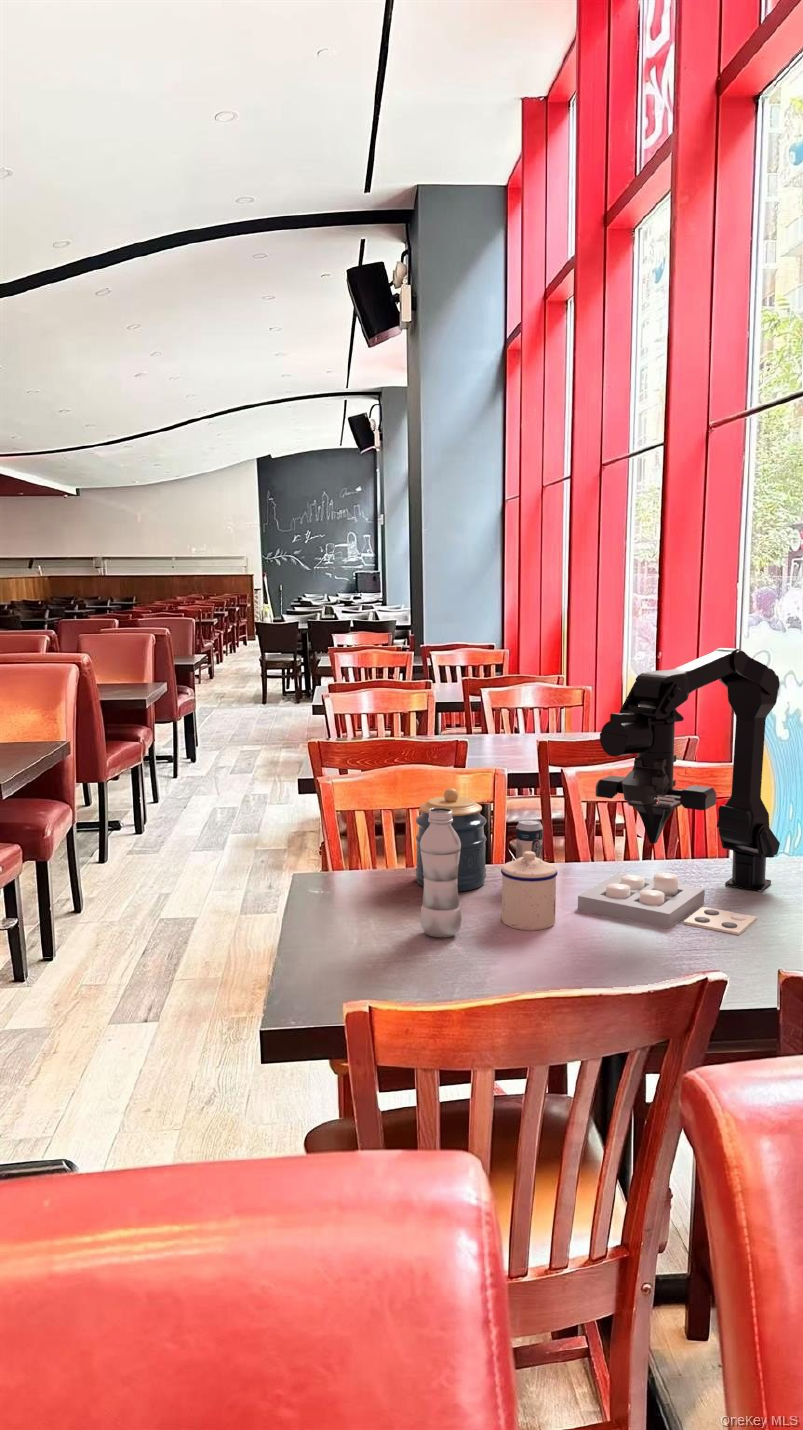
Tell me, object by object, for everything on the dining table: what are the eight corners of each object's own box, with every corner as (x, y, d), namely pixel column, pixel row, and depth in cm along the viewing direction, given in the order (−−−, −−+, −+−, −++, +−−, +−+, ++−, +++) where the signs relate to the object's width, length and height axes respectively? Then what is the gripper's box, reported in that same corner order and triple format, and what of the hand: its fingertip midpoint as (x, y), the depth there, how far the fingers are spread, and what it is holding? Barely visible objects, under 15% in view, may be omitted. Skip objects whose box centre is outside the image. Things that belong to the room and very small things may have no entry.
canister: (401, 883, 183) (400, 789, 181) (446, 868, 193) (446, 778, 190) (455, 898, 174) (455, 799, 172) (500, 881, 184) (501, 787, 181)
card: (702, 909, 168) (702, 905, 168) (756, 919, 162) (757, 916, 162) (683, 923, 160) (683, 920, 160) (739, 935, 155) (739, 931, 155)
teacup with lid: (567, 926, 159) (568, 856, 158) (518, 935, 156) (519, 862, 154) (528, 904, 170) (529, 838, 169) (481, 912, 167) (482, 844, 165)
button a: (626, 891, 176) (626, 874, 176) (647, 895, 174) (648, 877, 173) (616, 897, 173) (617, 879, 173) (638, 901, 171) (638, 883, 170)
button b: (658, 889, 173) (659, 871, 172) (681, 893, 170) (681, 875, 170) (649, 895, 169) (650, 877, 169) (672, 899, 167) (672, 881, 167)
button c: (611, 900, 171) (612, 882, 171) (633, 904, 169) (634, 886, 169) (601, 906, 168) (602, 887, 168) (623, 910, 166) (624, 892, 166)
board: (617, 886, 180) (617, 873, 180) (704, 902, 171) (704, 889, 171) (577, 909, 168) (577, 895, 167) (669, 928, 158) (669, 914, 158)
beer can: (541, 891, 178) (542, 825, 176) (514, 889, 179) (515, 824, 177) (542, 883, 182) (543, 819, 181) (516, 882, 183) (517, 818, 182)
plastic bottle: (433, 945, 152) (433, 817, 149) (412, 931, 158) (411, 808, 155) (469, 938, 155) (470, 812, 152) (447, 925, 160) (447, 803, 158)
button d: (644, 906, 168) (645, 888, 168) (667, 911, 166) (668, 892, 165) (635, 913, 165) (635, 894, 164) (658, 917, 162) (658, 898, 162)
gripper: (581, 751, 161) (580, 845, 163) (694, 763, 150) (691, 863, 152) (610, 742, 170) (608, 831, 172) (719, 753, 159) (715, 847, 161)
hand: (653, 843), depth 164 cm, fingers closed
